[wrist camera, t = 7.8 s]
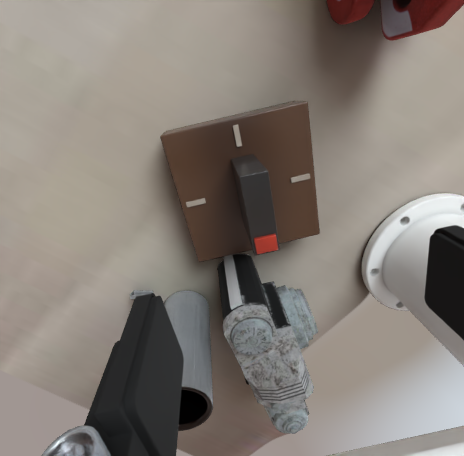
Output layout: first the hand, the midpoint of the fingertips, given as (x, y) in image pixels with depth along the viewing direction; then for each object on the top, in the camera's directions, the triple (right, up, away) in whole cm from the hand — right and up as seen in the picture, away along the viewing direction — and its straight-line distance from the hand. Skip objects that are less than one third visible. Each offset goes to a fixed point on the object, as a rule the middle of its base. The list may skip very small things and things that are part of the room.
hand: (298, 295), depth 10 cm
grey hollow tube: (-7, -6, +19) cm, 21 cm away
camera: (+1, -5, +20) cm, 20 cm away
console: (-1, +6, +14) cm, 15 cm away
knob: (-1, +5, +11) cm, 12 cm away
